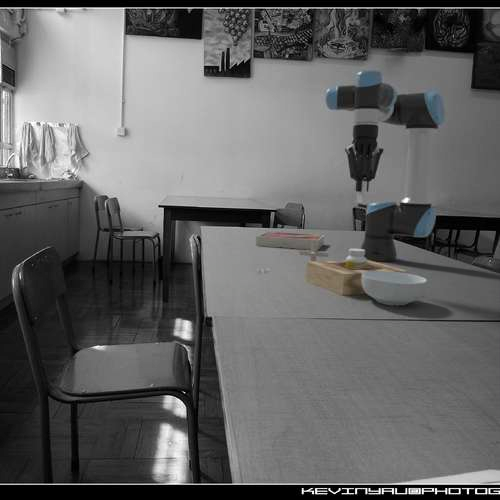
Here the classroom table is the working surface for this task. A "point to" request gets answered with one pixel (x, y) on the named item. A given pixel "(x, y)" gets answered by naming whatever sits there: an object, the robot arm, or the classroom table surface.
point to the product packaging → (289, 240)
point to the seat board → (342, 275)
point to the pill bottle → (356, 259)
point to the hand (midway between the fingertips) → (361, 202)
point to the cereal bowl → (393, 287)
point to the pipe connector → (314, 252)
